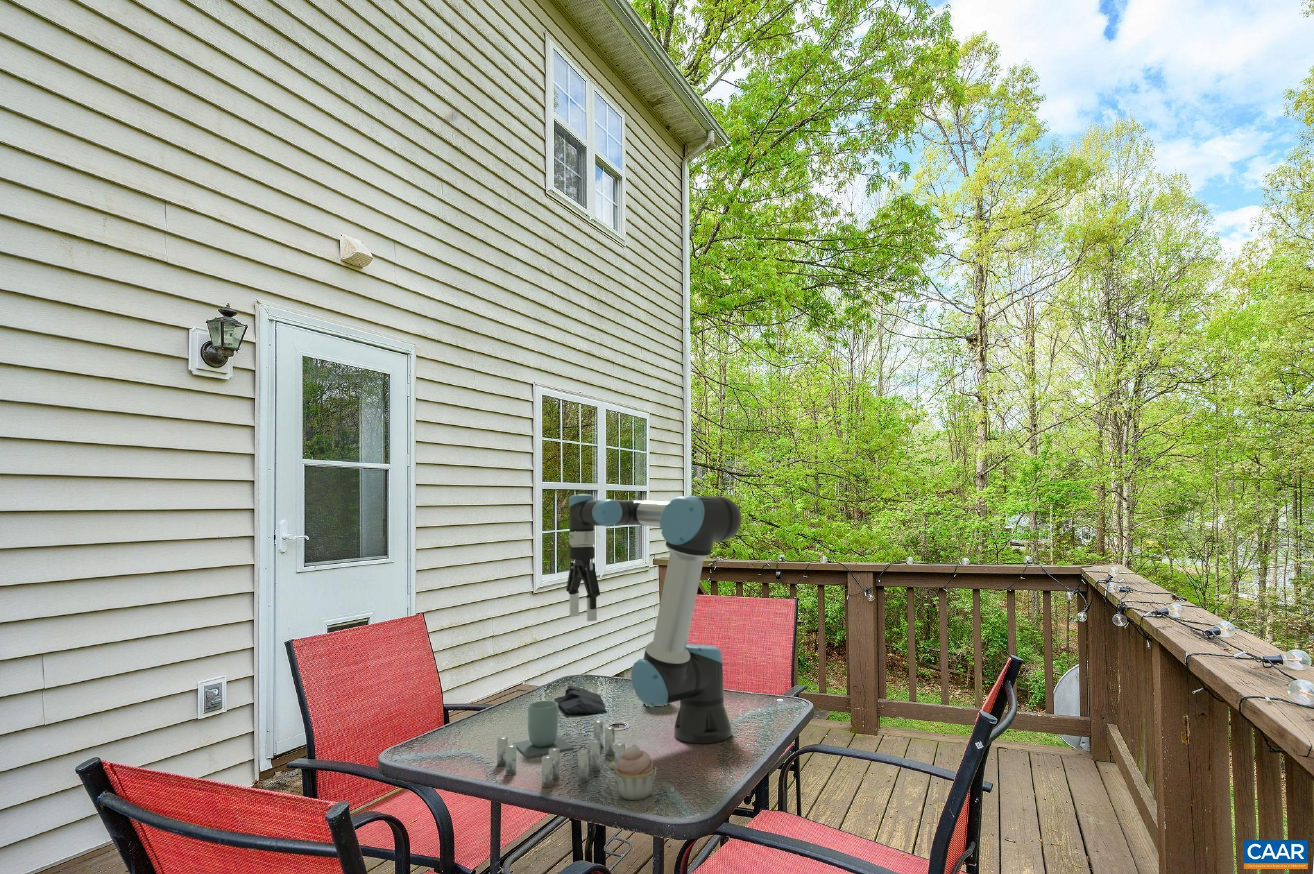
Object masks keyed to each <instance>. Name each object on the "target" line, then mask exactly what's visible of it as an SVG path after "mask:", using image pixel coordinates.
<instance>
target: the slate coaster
mask: <svg viewBox="0 0 1314 874" xmlns="http://www.w3.org/2000/svg"><path fill="white" fill-rule="evenodd" d="M512 744H515V745H516V750H518V751H519V752H520V753H521V752H522V753H521V754H522V755H524V757H526V759H530V758H535V757H541V756H545V755H549V749H551V748H559V753H561V752H562V753H563V752H567V751H572V749H573V750H574V746H572V745H571V744H570V743H569V742H567V741H566V740H565V739H563V738H562V737H561V736H559V735H557V738H556V740H555V742H554V743H553V744H552V745H550V746H547V747H536V746H534V745H533V744H532V743H531V742H530V739H528V740H522V741H515V742H512Z"/></svg>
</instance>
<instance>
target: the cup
mask: <svg viewBox="0 0 1314 874" xmlns="http://www.w3.org/2000/svg"><path fill="white" fill-rule="evenodd" d="M558 732H559V706H558V703H557V702H556V701H555V700H538V701H533V702H530V703H529V704H528V705H527V733H528V740H530V742H531V743H532V744H533V745H534V746H536V747H547V746H550V745H552V744H553V743H554V742H555V740H556V738H557V736H558Z"/></svg>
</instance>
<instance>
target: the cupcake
mask: <svg viewBox="0 0 1314 874" xmlns="http://www.w3.org/2000/svg"><path fill="white" fill-rule="evenodd" d="M627 748H628V749H626V750H625V752H624V753H623V756H622V758H620V760H619V761H618V764H617V768H615V769H614V770H613V771H614V772H613V773H612V774H613V776H614V778H615V780H616V782H617V783H616V784H617V786H618V791H619V794H620V796H621V798H622V799H625V800H630V801H640V800H644V799H646V798H648V797H650V795H651V793H652V790H653V789H652V787H653V782H654V780H655V777H656V775H657V769H658V768H657V767H655V766H654V762H653V760H652V758H651V755H650V753H648V751H645V750H641V748H640V747H639V746H638V745H637V744H636V743H633V745H631V746H629V747H627Z"/></svg>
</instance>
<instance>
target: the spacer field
mask: <svg viewBox="0 0 1314 874" xmlns="http://www.w3.org/2000/svg"><path fill="white" fill-rule="evenodd" d="M615 731H616V730H615V727H614V726H605V727H604V720H602V719H595V720H593V740H590V741H589V750H587V749H580V750H578V751H577V781H578V782H579V781H581V782H580V783H585V782H584V781H587V782H588V780H589V781H590V771H592V772H594V771H595V772H596V771H600V770H601V748H603V747H604V749H605V751H604V752H605V753H604V754H605V755H606V754H607V755H606V756H611V755H612V756H613V755H614V760H612V761H611V762H610V769H611V770H612V771H614V769H615V768H617V764H618V761H619V760H620V758H622V756H623V753H624V752H625V750H626V749H628V748H629V747H626V743H624V742H616V734H615V733H616V732H615ZM508 738H509V737H508V736H499V737H497V738H496V739H497V740H496V745H497V748H496V752H497V753H496V765H497V766H498V765H499V766H498V767H503V766H502V765H506V766H505V775H506V774H514V775H516V774H517V748H516V745H515V744H513V743H511V744H508ZM560 765H561V763H560V752H559V748H551V749H549V754H547V755H542V757H541V787H542V788H543V789H550V788H549V787H551V788H553V787H554V780H553V779H555V780H558V779H560V778H559V777H561V776H560V775H561V774H560ZM515 773H516V774H515ZM552 786H553V787H552Z"/></svg>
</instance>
